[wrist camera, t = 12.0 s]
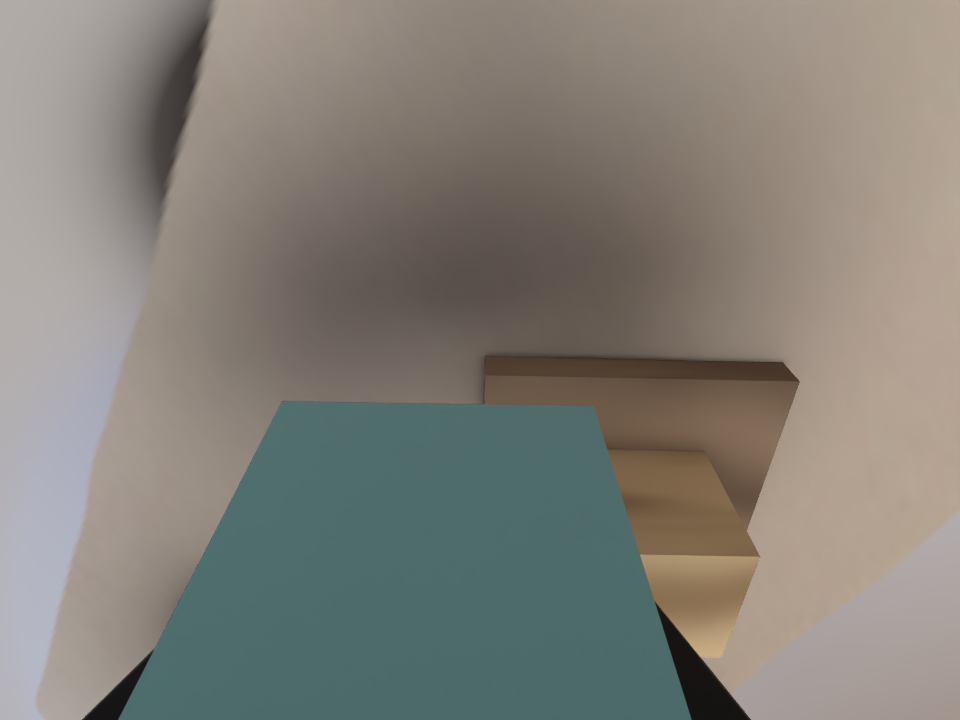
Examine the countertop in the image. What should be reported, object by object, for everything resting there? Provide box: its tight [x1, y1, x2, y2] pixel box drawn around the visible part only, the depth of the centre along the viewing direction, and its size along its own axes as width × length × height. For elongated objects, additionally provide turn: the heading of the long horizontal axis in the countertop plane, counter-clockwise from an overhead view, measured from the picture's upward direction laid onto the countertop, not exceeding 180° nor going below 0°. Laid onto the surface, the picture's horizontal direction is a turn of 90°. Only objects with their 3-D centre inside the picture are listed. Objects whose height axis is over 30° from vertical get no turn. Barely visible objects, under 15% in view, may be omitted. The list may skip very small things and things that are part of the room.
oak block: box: [607, 450, 760, 658], centre depth 21 cm, size 5×5×5 cm
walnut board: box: [484, 356, 800, 531], centre depth 24 cm, size 11×11×2 cm
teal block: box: [118, 401, 692, 720], centre depth 8 cm, size 5×5×5 cm
